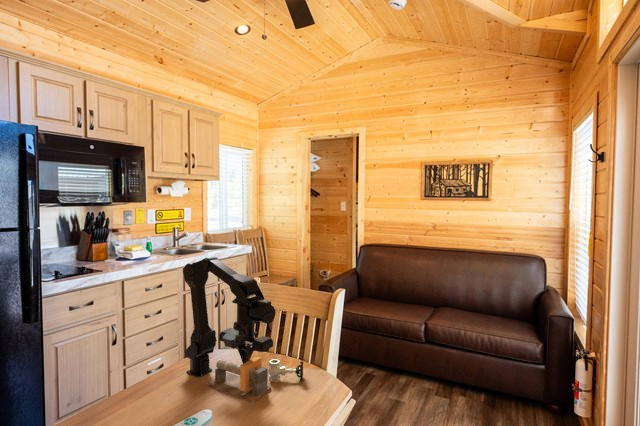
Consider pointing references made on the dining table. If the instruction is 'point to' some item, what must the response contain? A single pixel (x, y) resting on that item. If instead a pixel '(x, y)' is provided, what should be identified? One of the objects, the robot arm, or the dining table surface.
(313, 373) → the dining table surface
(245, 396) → the pipe stand
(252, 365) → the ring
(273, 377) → the valve
